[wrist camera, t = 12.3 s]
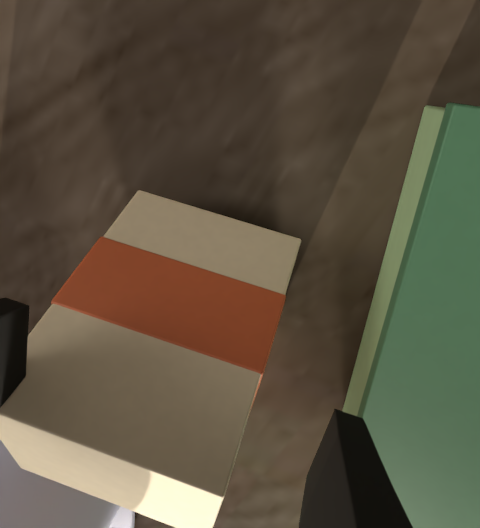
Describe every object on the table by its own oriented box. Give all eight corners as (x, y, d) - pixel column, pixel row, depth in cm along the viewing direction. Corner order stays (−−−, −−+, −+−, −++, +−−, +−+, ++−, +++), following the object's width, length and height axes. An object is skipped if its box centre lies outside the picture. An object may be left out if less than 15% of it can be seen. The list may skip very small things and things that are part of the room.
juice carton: (278, 314, 19) (209, 541, 13) (141, 270, 19) (18, 468, 14) (303, 238, 15) (226, 497, 10) (136, 187, 16) (-29, 403, 10)
